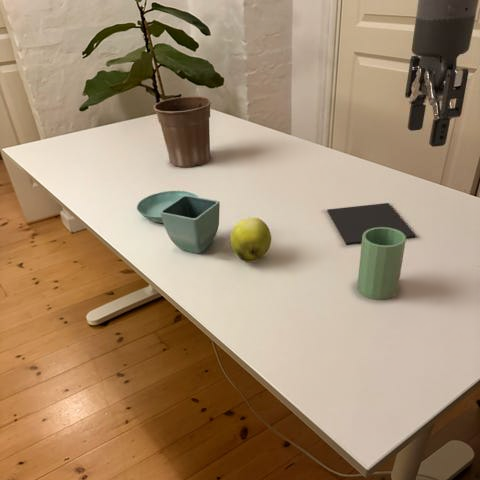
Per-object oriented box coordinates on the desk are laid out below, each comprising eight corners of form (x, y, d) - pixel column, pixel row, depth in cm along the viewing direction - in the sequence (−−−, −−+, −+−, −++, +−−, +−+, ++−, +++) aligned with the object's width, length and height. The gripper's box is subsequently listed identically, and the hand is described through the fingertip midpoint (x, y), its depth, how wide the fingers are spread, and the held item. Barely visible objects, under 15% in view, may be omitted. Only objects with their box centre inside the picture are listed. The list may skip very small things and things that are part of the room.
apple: (269, 245, 94) (268, 208, 89) (274, 268, 87) (273, 229, 82) (231, 248, 94) (228, 211, 89) (233, 271, 87) (229, 233, 82)
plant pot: (210, 170, 131) (203, 109, 121) (156, 171, 134) (145, 111, 124) (222, 151, 143) (216, 95, 134) (172, 152, 146) (163, 97, 137)
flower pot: (201, 261, 91) (195, 219, 86) (166, 252, 95) (158, 211, 89) (224, 241, 97) (220, 200, 91) (190, 233, 101) (184, 194, 95)
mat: (388, 204, 105) (388, 202, 105) (415, 237, 92) (415, 235, 92) (327, 211, 105) (327, 209, 104) (346, 245, 92) (346, 242, 92)
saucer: (146, 233, 103) (144, 222, 101) (133, 208, 114) (131, 198, 112) (209, 218, 106) (207, 207, 105) (190, 196, 117) (188, 185, 116)
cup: (389, 276, 82) (397, 225, 76) (403, 297, 77) (412, 244, 71) (352, 280, 82) (357, 229, 76) (363, 302, 77) (369, 248, 70)
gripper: (501, 14, 56) (470, 149, 66) (449, 6, 68) (429, 122, 78) (441, 20, 56) (419, 154, 66) (399, 11, 67) (385, 127, 77)
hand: (425, 137), depth 72 cm, fingers open, 8 cm apart
